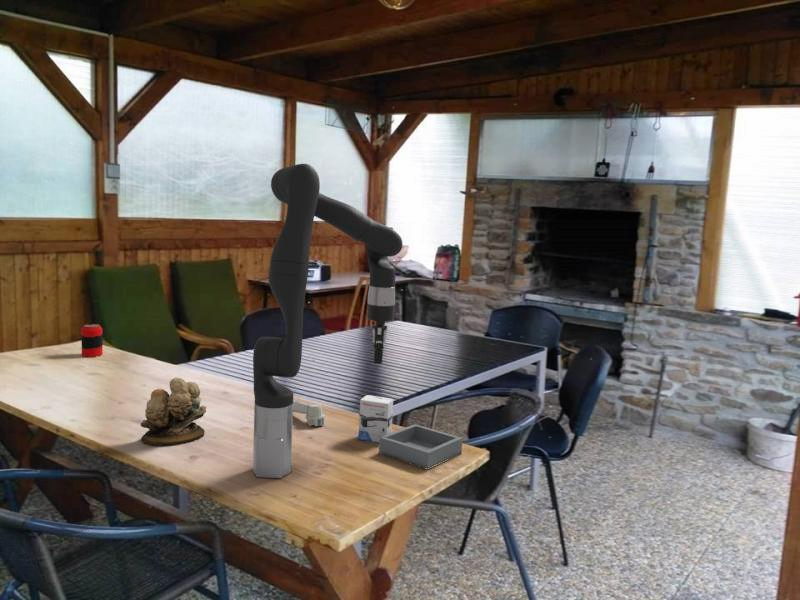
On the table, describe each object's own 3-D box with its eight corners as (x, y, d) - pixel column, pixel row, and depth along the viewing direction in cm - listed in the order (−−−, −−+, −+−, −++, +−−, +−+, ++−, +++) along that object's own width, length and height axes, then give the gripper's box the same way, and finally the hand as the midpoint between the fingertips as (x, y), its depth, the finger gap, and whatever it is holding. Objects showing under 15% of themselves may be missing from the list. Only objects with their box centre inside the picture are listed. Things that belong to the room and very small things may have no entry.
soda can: (99, 352, 282) (98, 323, 280) (105, 356, 276) (105, 326, 275) (79, 354, 277) (78, 324, 276) (85, 358, 272) (84, 327, 270)
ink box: (357, 439, 198) (359, 399, 196) (363, 434, 202) (365, 394, 201) (386, 444, 195) (388, 403, 193) (391, 438, 200) (393, 398, 198)
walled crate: (461, 453, 191) (462, 438, 190) (427, 469, 178) (428, 452, 177) (414, 439, 200) (415, 424, 200) (378, 453, 188) (379, 437, 187)
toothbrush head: (280, 393, 226) (328, 401, 208) (281, 413, 226) (329, 424, 208) (266, 395, 222) (313, 404, 204) (267, 416, 223) (314, 427, 204)
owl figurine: (195, 426, 202) (196, 368, 199) (215, 438, 193) (217, 377, 191) (133, 437, 190) (134, 376, 187) (151, 450, 181) (152, 386, 179)
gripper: (394, 307, 186) (391, 366, 188) (394, 299, 200) (391, 354, 203) (366, 305, 186) (363, 365, 188) (368, 298, 200) (365, 353, 202)
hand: (378, 359), depth 195 cm, fingers open, 8 cm apart
